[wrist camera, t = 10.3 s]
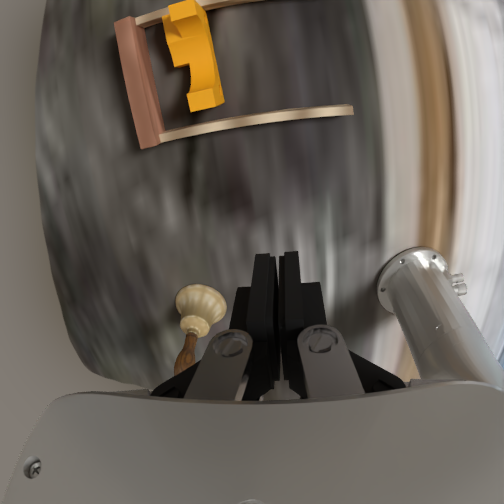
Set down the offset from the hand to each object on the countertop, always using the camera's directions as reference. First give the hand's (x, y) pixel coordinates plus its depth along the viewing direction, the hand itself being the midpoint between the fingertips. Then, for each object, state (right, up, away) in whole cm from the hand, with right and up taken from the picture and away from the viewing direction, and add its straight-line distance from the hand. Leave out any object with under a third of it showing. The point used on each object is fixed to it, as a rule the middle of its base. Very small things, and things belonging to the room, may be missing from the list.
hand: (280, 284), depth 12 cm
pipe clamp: (-8, +24, +18) cm, 31 cm away
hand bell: (-9, -7, +37) cm, 38 cm away
